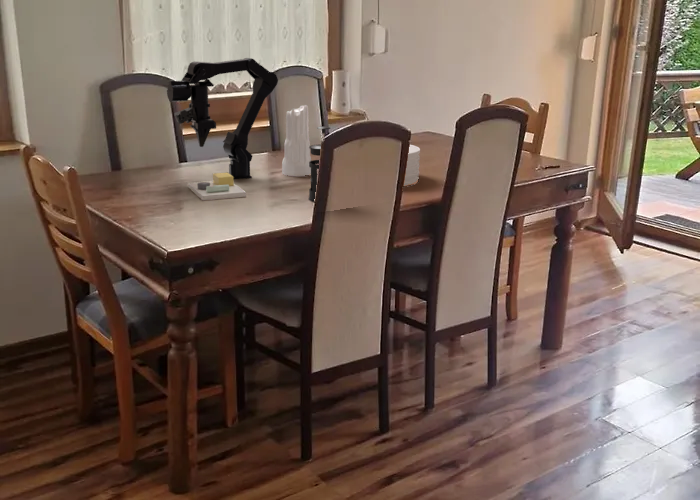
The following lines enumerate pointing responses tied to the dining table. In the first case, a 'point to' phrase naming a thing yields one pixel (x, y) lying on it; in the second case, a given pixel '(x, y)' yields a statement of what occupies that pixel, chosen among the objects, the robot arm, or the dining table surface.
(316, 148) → the french press
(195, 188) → the instrument board
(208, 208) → the dining table surface
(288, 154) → the decorative vase
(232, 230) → the dining table surface
